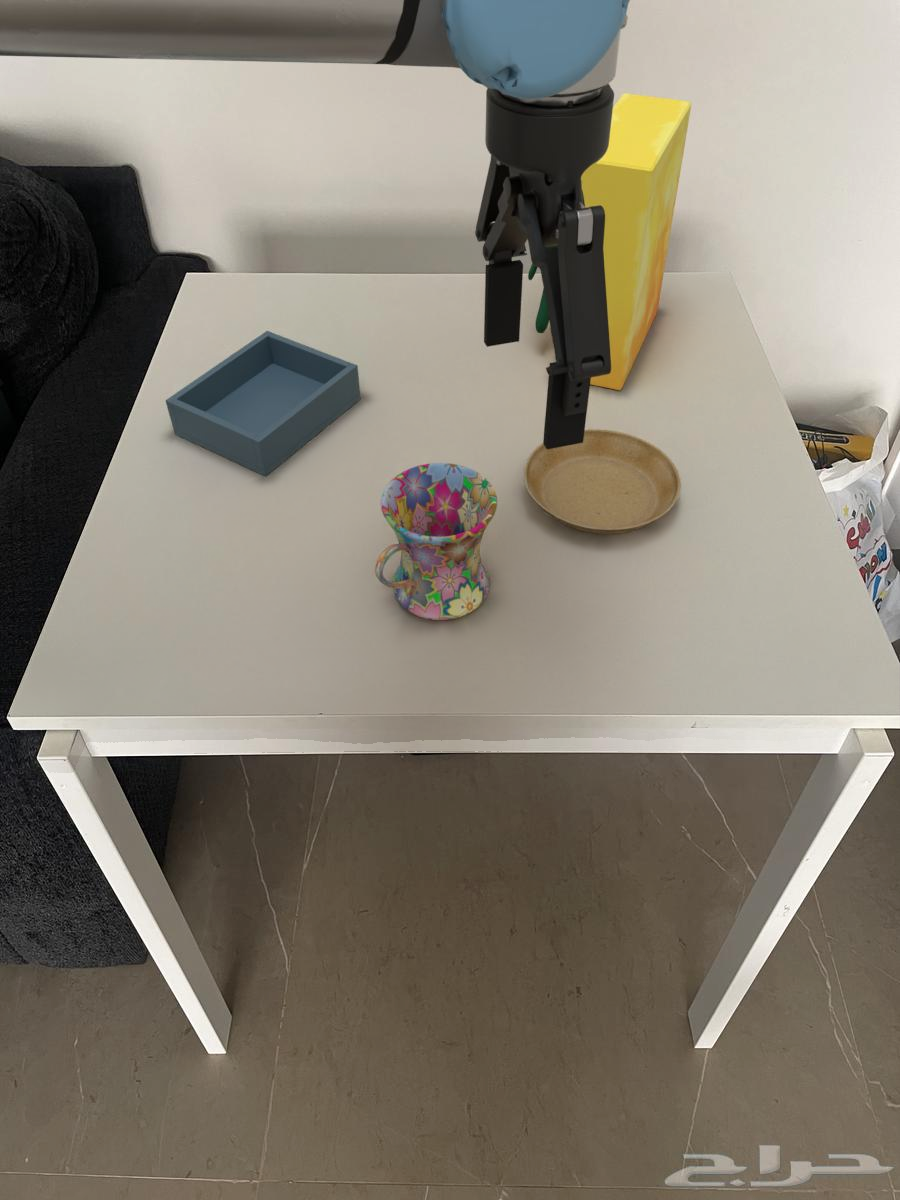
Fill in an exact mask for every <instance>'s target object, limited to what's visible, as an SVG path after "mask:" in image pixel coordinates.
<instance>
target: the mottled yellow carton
mask: <svg viewBox="0 0 900 1200" xmlns="http://www.w3.org/2000/svg"><path fill="white" fill-rule="evenodd" d="M691 109H692V103H691V101H690V100H682V99H675V98H665V97H659V96H658V97H657V96H652V95H651V96H649V95H642V94H634V93H627V92H624V93H622V94H621V96H620V97H619V98H618V100H617V101H616V102H615V104H613V111H612V120H611V129H610V138H609V146H608V149H607V151H606V153H605V155H604V156H603V157H602V158H601V159H600V160H599V161H597V162H596V163H594V164H592V165H591V166H590V167H589V168H587V169H586V171H585V172H584V173H583V174H582V176H581V181H582V191H583V196H584V202H585V207H591V206H598V205H601V206H602V207H603V208H604V211H605V229H604V244H603V253H604V267H605V282H606V296H607V311H608V326H609V340H610V355H611V372H610V374H607V375H602V376H597V377H591V381H590V386H592V385H593V386H595V387H601V388H606V389H611V390H614V391H615V390H616V391H621V390H622V389H623V387H624V384H625V383H626V381H627V378H628V376H629V374H630V371H631V370H632V367H633V365H634V363H635V361H636V359H637V357H638V355H639V352H640V350H641V348H642V346H643V344H644V341H645V340H646V337H647V335H648V333H649V332H650V328H651V326H652V324H653V322H654V320H655V318H656V316H657V314H658V309H659V305H660V298H661V293H662V291H661V290H662V285H663V279H664V273H665V268H666V261H667V255H668V250H669V243H670V237H671V230H672V224H673V218H674V212H675V206H676V202H677V201H676V200H677V194H678V189H679V183H680V177H681V170H682V164H683V158H684V153H685V146H686V140H687V133H688V127H689V121H690V117H691ZM557 247H558V245H556V246H549V247H545V248H546V249H551V248H557ZM538 269H539V267H537V266H535V265H534V264H533V263H532V262H531V266H530V268H529V271H528V274H527V279H528V280H529V281H532V280H533V279H534V277H535V276H536V273H537V270H538ZM549 324H550V322H549V316H548V310H547V305H546V299H545V293H544V287H543V288H542V293H541V297H540V302H539V306H538V311H537V313H536V317H535V323H534V327H535V331H536V333H537V334H545V332H546V330H547V329H548V326H549Z"/></svg>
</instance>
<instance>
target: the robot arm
mask: <svg viewBox="0 0 900 1200" xmlns="http://www.w3.org/2000/svg"><path fill="white" fill-rule="evenodd" d="M630 1H631V0H0V57H37V58H40V57H41V58H78V59H79V58H83V59H85V58H86V59H124V60H125V59H129V60H131V59H132V60H168V61H169V60H173V61H182V60H183V61H217V62H218V61H219V62H221V61H222V62H260V63H261V62H262V63H264V62H265V63H303V64H305V63H308V64H309V63H311V64H312V63H313V64H347V65H348V64H352V65H353V64H354V65H389V66H402V67H403V66H404V67H427V68H428V67H430V68H431V67H433V68H434V67H435V68H455V69H460V70H461V71H462V72H463V73H464V74H465V75H466V77H468V78H469V79H470V80H472V81H473V82H474V83H477V84H479V85H482V86H483V87H485V88H486V95H485V134H484V138H485V141H484V143H485V147H486V149H487V152H488V153H489V154H490V161H489V165H488V170H487V175H486V179H485V184H484V189H483V193H482V197H481V202H480V208H479V211H478V216H477V221H476V224H475V225H476V226H475V231H474V233H475V234H474V235H475V238H476V240H477V242H479V243H480V242H484V243H483V246H482V256H483V258H484V260H485V262H488V264H485V272H484V273H485V276H484V277H485V278H484V279H485V280H484V284H485V285H484V316H483V317H484V321H483V323H484V325H483V343H484V345H485V347H487V348H488V347H494V346H501V345H505V344H511V343H517V342H518V343H519V342H520V332H521V315H522V299H523V298H522V296H523V276H524V264H523V262H522V260H521V259H515V260H513V258H516V257H525V256H527V255H528V253H527V247H526V242H528V243H527V244H528V248H529V254H530V255H529V256H530V261H531V264H532V263H533V264H534V265H535V266H537V267H538V269H539V270H540V275H541V281H542V287H543V288H544V293H545V299H546V305H547V310H548V316H549V328H550V333H551V339H552V344H553V351H554V357H555V361H553V362H549V366H547V367H545V369H546V373H547V375H548V380H547V389H546V391H547V392H546V403H545V416H544V429H543V438H542V439H543V441H542V443H543V444H544V446H545V447H546V449H553V448H558V447H563V446H568V445H573V444H579V443H583V439H584V431H585V430H586V421H587V414H588V405H589V399H590V398H589V397H590V389H591V384H590V381H591V377H597V376H602V375H607V374H610V372H611V355H610V340H609V326H608V311H607V296H606V282H605V267H604V253H603V244H604V229H605V211H604V208H603V207H602V206H601V205H598V206H591V207H585V202H584V196H583V191H582V181H581V176H582V174H583V173H584V172H585V171H586V169H587V168H589V167H590V166H591V165H592V164H594V163H596V162H597V161H599V160H600V159H601V158H602V157H603V156H604V155H605V153H606V151H607V149H608V146H609V138H610V129H611V120H612V111H613V107H614V102H615V101H614V100H615V91H614V90H613V89H612V87H611V85H610V83H611V82H612V81H613V80H614V79H615V77H616V74H617V66H618V58H619V50H620V49H619V48H620V40H621V31H622V29H625V28H626V26H627V25H628V19H629V17H628V15H627V12H628V6H629V3H630ZM556 245H558V247H557V248H551V249H546V248H545V247H549V246H556Z"/></svg>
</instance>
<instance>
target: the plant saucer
mask: <svg viewBox="0 0 900 1200" xmlns="http://www.w3.org/2000/svg"><path fill="white" fill-rule="evenodd" d="M523 479H524V481H523V482H524V484H525V487H526V490H527V492H528V493H529V495H530V497H531V498H532V499H533V500H534V502H535V503H536V504H537V505H538V507H540V508H541V509H542V510H543V511H544V512H545V513H546V514H548V515H549V516H550V517H552V518H553V519H554V520H557V521H558V522H560V523H561V524H564V525H566V526H567V527H570V528H573V529H576V530H579V531H581V532H585V533H589V534H601V535H602V534H603V535H607V534H608V535H611V534H613V535H614V534H621V533H627V532H631V531H635V530H639V529H640V528H643V527H646V526H648V525H650V524H651V523H654V522H655V521H658V520H659V519H660V518H662V517H663V516H664V515H666V514H667V513H668V512H669V511H671V509H672V508H673V507H674V505H676V503H677V501H678V499H679V496H680V493H681V488H682V483H681V477H680V473H679V471H678V469H677V467H676V465H675V464H674V462H673V461H672V459H670V457H669V456H668V455H667V454H666V453H664V452H663V451H662V450H661V449H660V448H658V447H657V446H655V445H654V444H652V443H650V442H649V441H647V440H645V439H642V438H640V437H637V436H635V435H631V434H628V433H625V432H621V431H617V430H610V429H598V428H597V429H595V428H592V429H585V431H584V439H583V443H579V444H573V445H568V446H563V447H558V448H553V449H546V447H545V446H544V444H543V442H542V443H541V444H540V445H538V446H537V447H536V448H535V449H533V451H532V452H531V454H530V455H529V456H528V458H527V460H526V462H525V464H524V471H523Z"/></svg>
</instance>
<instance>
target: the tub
mask: <svg viewBox="0 0 900 1200" xmlns="http://www.w3.org/2000/svg"><path fill="white" fill-rule="evenodd" d="M359 377H360V376H359V368H358V365H357V364H355V363H353V362H350V361H347V360H344V359H342V358H339V357H337V356H334V355H332V354H329V353H327V352H324V351H321V350H319V349H315V348H313V347H310V346H308V345H305V344H303V343H300V342H298V341H295V340H292V339H290V338H288V337H284V336H282V335H280V334H277V333H275V332H272V331H270V330H266V331H264V332H263V333H261V334H260V335H258V336H257V337H256V338H254V339H252V340H251V341H249V342H248V343H247V344H246V345H244V346H242V347H241V348H239V349H238V350H237V351H235V352H233V353H232V354H230V356H228V357H227V358H225V359H224V360H222V361H220V362H219V363H217V364H216V365H215V366H213V367H212V368H211V369H209V370H208V371H206V372H205V373H203V374H202V375H200V376H198V377H197V378H196V379H194V380H193V381H191V382H190V383H188V384H187V385H186V386H184V387H183V388H181V389H180V390H178V391H177V392H175V393H174V394H172V395H171V396H170V397H168V398H166V399H165V404H166V408H167V411H168V415H169V418H170V422H171V426H172V429H173V432H174V433H173V434H174V435H175V436H178V437H180V438H181V439H184V440H186V441H189V442H191V443H192V444H195V445H197V446H200V447H202V448H204V449H205V450H208V451H210V452H212V453H214V454H217V455H219V456H221V457H222V458H225V459H228V460H230V461H232V462H234V463H237V464H238V465H241V466H243V467H245V468H247V469H249V470H251V471H253V472H255V473H258V474H260V475H262V476H265V477H267V476H268V475H269V474H270V473H272V472H273V471H274V470H275V469H276V468H278V467H279V466H280V465H281V464H283V463H284V462H285V461H286V460H288V459H289V458H290V457H291V456H293V454H295V453H297V451H299V450H300V449H301V448H303V447H304V446H305V445H306V444H308V442H310V441H311V440H312V439H313V438H314V437H316V436H317V435H318V434H319V433H321V432H322V431H324V430H325V429H326V428H327V427H328V426H330V425H331V424H332V423H333V422H334V421H335V420H337V419H338V418H339V417H340V416H343V414H344V413H345V412H347V411H348V410H349V409H350V408H351V407H353V406H354V405H356V404H357V402H359V401H360V400H361V388H360V378H359Z"/></svg>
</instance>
